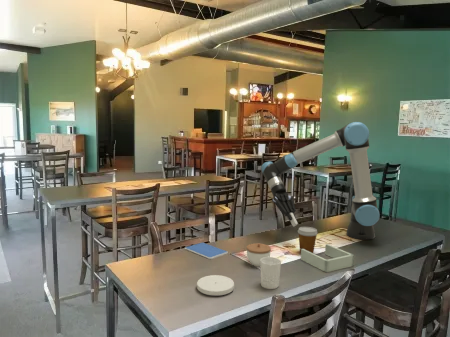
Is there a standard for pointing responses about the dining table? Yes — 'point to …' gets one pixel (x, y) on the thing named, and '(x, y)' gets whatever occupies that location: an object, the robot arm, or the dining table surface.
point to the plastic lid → (215, 285)
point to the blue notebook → (206, 250)
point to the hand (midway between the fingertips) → (295, 225)
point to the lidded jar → (257, 253)
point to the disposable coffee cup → (307, 238)
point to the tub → (338, 262)
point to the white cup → (270, 272)
